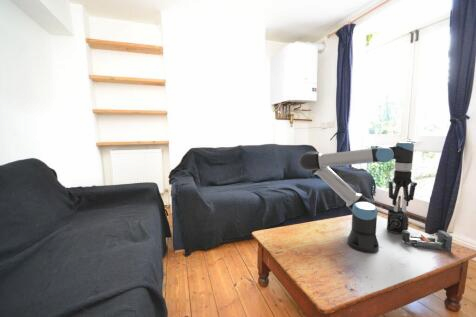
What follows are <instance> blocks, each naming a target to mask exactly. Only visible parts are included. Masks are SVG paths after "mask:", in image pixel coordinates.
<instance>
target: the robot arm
mask: <svg viewBox="0 0 476 317" xmlns="http://www.w3.org/2000/svg"><path fill="white" fill-rule="evenodd" d="M414 146H415V145H414V143H413V142H411V141H397V142H396V144H395V145H383V144H382V145H379V144H376V145H370V148H364V149H363V148H362V149H357V150H350V151H349V150H348V151H339V152H331V153H324V154H322V153H320V152H318V151H316V150H315V151H314V150H310V151H307V152H305V153H302V155H300V157H299V158H298V163H299V167H300V168H301V169H302V170H304V171H308V172H310V173H311V174H313V175H317V177H319V178H320V180H322V181H323V182H325V184H326V185H327V186H329V187H330V189H332V190H333V191H334V192H335V193H336V194H337V195H338V196H339V197H340V198H341V199H342V200H343V201H344V202H345V203H346V204H345V205H346V207H347V208H348V209H349V210H350V211H351V213H352V214H351V215H352V216H351V230H350V232H349V234H348V236H347V239H346V240H347V245H348V246H349V247H350V248H351V249H354V250H356V251H359V252H361V253H362V252H363V253H369V254H370V253H371V254H373V253H377V252H378V251H379V250H380V249H379V248H380V245H379V241H378V238H377V234H376V233H377V221H378V220H377V219H378V208H377V206H376V205H375V203H374V202H373V201H372V200H371V199H370V198H368V197H366V196H365V195H363V194H362V193H359V192H357V191H355V189H353V188H352V186H350V185H349V184H348V183H347V182H345V181H344V180H343V179H342V178H341V177H340V176H339V175H338V174H337V173H336V172H335V171H334V170H333V169H331V167H338V166H349V165H361V164H368V163H370V164H371V163H390V162H391V161H392V160H395V161H394V171H393V179H392V180H387V182H386V183H387V184H388V198H389V199H391V200H392V202H391V203H392V205H393V207H394V211H395V212H397V210H398V207H399V200H398V195H399V193H400V189H401V188H402V190H403V197H404V198H403V199H402V206H401V208H402V211H403V212H405V213H406V210H407V207H409V202H410V201H413V200H414V197H415V191H416V187H417V185H418V182H415V181H412V171H413V162H414V161H413V159H414V150H415V149H414ZM394 184H395V185H394ZM409 185H410V187H409ZM394 187H395V188H394Z"/></svg>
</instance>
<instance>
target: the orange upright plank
mask: <svg viewBox="0 0 476 317" xmlns="http://www.w3.org/2000/svg"><path fill="white" fill-rule="evenodd" d="M420 237H423V238H421V240H422V241H426V242H429V241H430V240H428V239H427V238H426V237H427V236H425V235H423V234H420Z"/></svg>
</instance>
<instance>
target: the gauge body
mask: <svg viewBox="0 0 476 317" xmlns="http://www.w3.org/2000/svg"><path fill="white" fill-rule="evenodd" d="M425 237H426V238H427V239H428V240H430V241H429V242H426V241H417V240H416V243H410V245H412V246H413V247H414V248H417V249H427V250H428V249H429V250H438V251H447V252H452V244H453V236H452V235H450V234H449V233H448V232H446V231H444V230H439V229H438V231H437V238H436V237H432V236H429V237H427V236H425ZM410 238H419V239H421V238H423V237H422V236H417V235H410ZM436 240H437V241H436Z"/></svg>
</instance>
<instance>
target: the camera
mask: <svg viewBox="0 0 476 317" xmlns="http://www.w3.org/2000/svg"><path fill="white" fill-rule="evenodd" d="M387 209H388V210H387V224H386V231H387V232H390V233H395V234H399V235H402V233H403V230H407V231H408V230H409V219H410V218H409V216H408V215H407V214H408V212H407V211H408V210H407V209H406V213H405V212H403V211H402V207H400V206H398V210H397V212H395V211H394V206H392V205H391V206H390V205H389V206H388V208H387Z"/></svg>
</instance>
